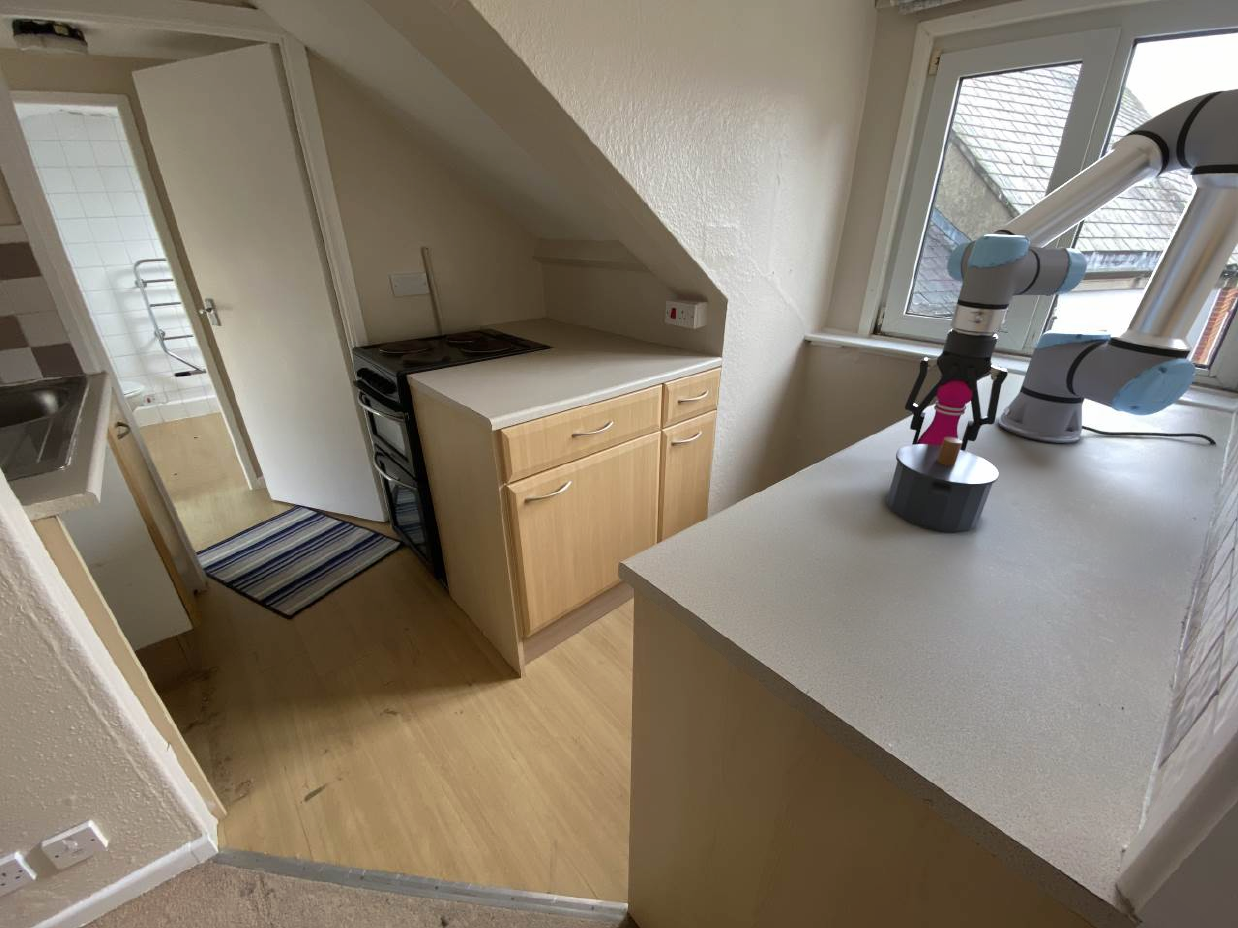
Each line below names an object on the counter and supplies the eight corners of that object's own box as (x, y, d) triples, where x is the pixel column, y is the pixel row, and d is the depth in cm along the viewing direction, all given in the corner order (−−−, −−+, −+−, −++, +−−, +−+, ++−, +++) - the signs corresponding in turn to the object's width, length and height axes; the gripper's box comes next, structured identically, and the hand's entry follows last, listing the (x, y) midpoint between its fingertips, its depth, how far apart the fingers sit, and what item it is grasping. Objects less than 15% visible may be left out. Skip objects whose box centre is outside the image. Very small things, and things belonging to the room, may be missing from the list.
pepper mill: (957, 479, 100) (992, 377, 91) (916, 474, 102) (946, 374, 93) (944, 462, 107) (975, 366, 98) (906, 459, 108) (933, 363, 99)
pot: (976, 497, 94) (992, 454, 91) (977, 550, 80) (995, 502, 76) (893, 478, 101) (904, 437, 97) (879, 524, 86) (892, 478, 82)
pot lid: (995, 462, 89) (1005, 434, 87) (998, 500, 78) (1010, 468, 75) (899, 443, 96) (907, 416, 93) (889, 475, 84) (897, 445, 82)
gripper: (907, 327, 94) (877, 445, 104) (1046, 343, 85) (998, 470, 95) (911, 320, 100) (883, 432, 110) (1042, 334, 90) (997, 455, 101)
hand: (936, 449), depth 102 cm, fingers closed on pepper mill, 7 cm apart
